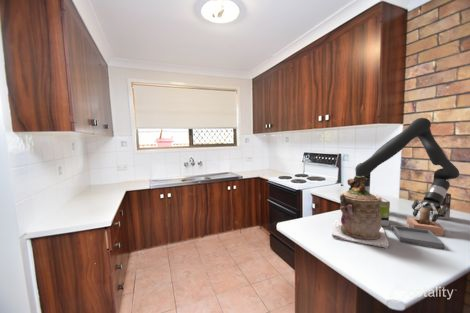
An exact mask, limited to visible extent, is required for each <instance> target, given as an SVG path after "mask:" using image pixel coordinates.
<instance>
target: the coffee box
mask: <svg viewBox="0 0 470 313" xmlns="http://www.w3.org/2000/svg"><path fill="white" fill-rule="evenodd" d="M451 198H452V194H451V193H450V192H447V193H446V196H445V198H444V200H443V202H442V204H441V206H444V205H446V206H447V208H448V210H447V212H446V214H445V216H444V217H442V216H439V217H438V219H440V220H449V219H450V218H451V216H450V215H451V203H452V201H451V200H452V199H451ZM441 210H442V209H441V208H439V209H437V212H438V213H440V212H441ZM434 214H435V212H434V211H430V218H432V217H433V215H434ZM438 219H437V220H438Z"/></svg>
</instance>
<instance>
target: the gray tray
mask: <svg viewBox="0 0 470 313" xmlns="http://www.w3.org/2000/svg"><path fill="white" fill-rule="evenodd" d="M391 231H392V233H394V235H395V237H396V238H397V240H398V241H399V242H400V243H403V244H409V245H417V246H423V247H428V248H434V249H440V250H444V249H445V243H444V242H443V241H442V240H441V239H439V238H438V236H437V235H434V234H433V233H432V232H431V231H430V230H426V229H418V228H411V227H409V226H402V225H396V224H391Z"/></svg>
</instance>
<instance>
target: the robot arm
mask: <svg viewBox="0 0 470 313" xmlns="http://www.w3.org/2000/svg"><path fill="white" fill-rule="evenodd" d="M431 126H432V123H431V121H430V119H428V118H426V117H419V118H416V119H414V120H413V121H412V122H411V123H410V124H408V126H407V127H406V128H404V130H402V131H401V132H400V133H398V134H397V135H395V136H393V137H392V138H391V139H389V140H388V141H386V142H385V143H384V144H382V145H381V146H380V147H379V148H378V149H377V150H376V151H375V152H374V153H373V154H372V155H371V156H370V157H368V158H367V159H366V160H365V161H363V162H360V163H358V164H357V165H356V167H355V176H359V177H362V176H365V177H366V178H367V179H368V180H366V181H365V190H366V191H368V192H369V193H370V194H371V190H370V189H371V173H372V172H373V171H374V170H375V169H376V168H378V167H379V166H380V165H382V164H383V163H385V162H387V161H388V160H390V159H392V157H394V156H395V155H397V154H399V152H401V150H403V149H404V148H405V147H406V146H407V145H408V144H409V143H410V142H411V141H412V140H414V139H415V138H418V139H419V140H420V143H421V144H422V146H423V148H424V151H425V152H426V154H427V156H428V158H429V161H431V163H432V165H433V166H440V167H441V168H439V169H436V170H435V171H434V173H433V179H432V180H433V181H432V183H431V185H430V187H429V188H428V189H427V191H426V194H425V195H424V197H423V198H422V200H418V199H417V198H416V199H414V201H413V203H412V204H411V206H410V208H411V209H412V210H413V211H412V215H413V218H416V217H417V216H418V214H419V212H420V207H425V208H429V209H430V211H434V212H435V214H434V215H433V217H431V218H430V220H432V222H437V220H438V217H439V216H442V217H444V216H445V214H446V212H447V210H448V208H447V206H446V205H444V206H441V204H442V202H443V200H444V198H445V196H446V193H448V190H449V189H450V186H451V184H450V181H448V180H453V179H454V180H455V179H457V178H458V177H459V176H460V171H459V169H458V167H456V165H455V164H454V163H452V161H450V159H448V157H447V156H446V154H445V152H444V151H443V149H442V147H441V146H440V145H439V143H438V142H437V140H435V138H434V136H433V134H432V130H431ZM439 208H441V209H442V210H441V212H440V213H438V212H437V209H439Z"/></svg>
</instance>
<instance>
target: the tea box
mask: <svg viewBox="0 0 470 313" xmlns="http://www.w3.org/2000/svg"><path fill="white" fill-rule="evenodd" d="M374 195H375V194H374ZM375 196H379V195H375ZM379 197H380V198H381V199H382V201H381V203H380V213H381V227H384V226H385V227H388V226H389V225H390V224H389V223H390V210H391V209H390V207H391V202H390V200H388V199H385V198H383V197H382V196H379Z"/></svg>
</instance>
